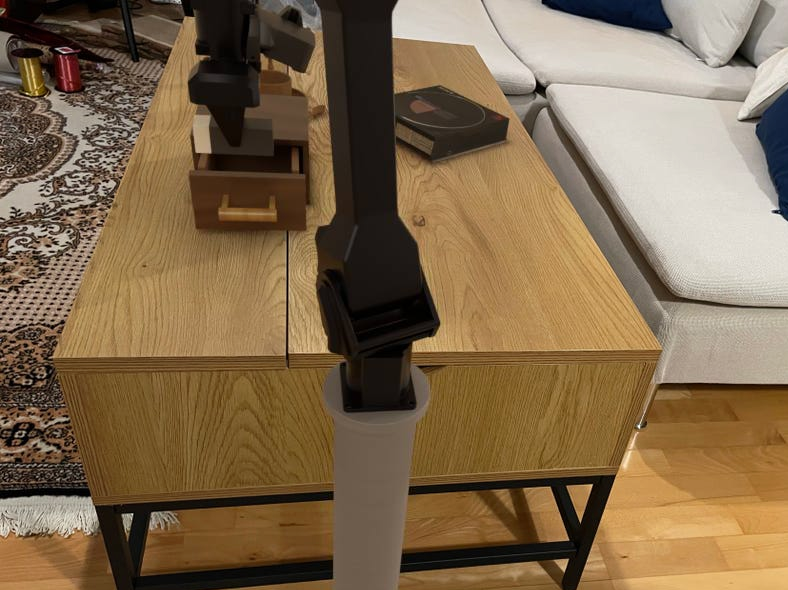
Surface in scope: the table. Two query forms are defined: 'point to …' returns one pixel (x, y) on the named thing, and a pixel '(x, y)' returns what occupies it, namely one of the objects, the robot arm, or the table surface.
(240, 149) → the black rubber eraser
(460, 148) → the portable cd player
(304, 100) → the cabinet
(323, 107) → the place setting
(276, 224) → the drawer
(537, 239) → the table surface
